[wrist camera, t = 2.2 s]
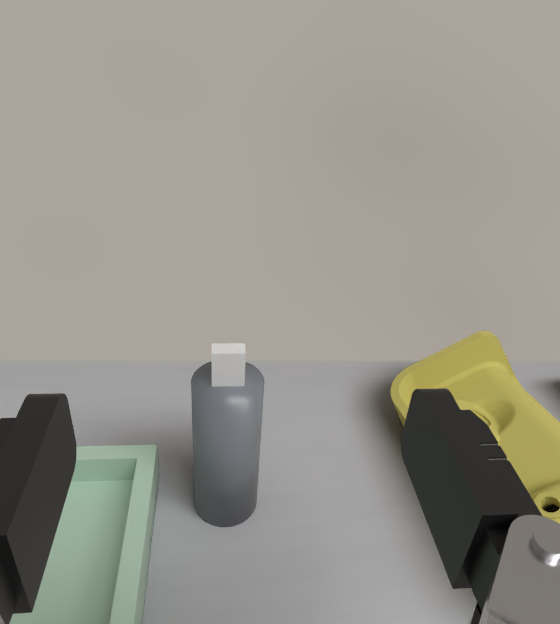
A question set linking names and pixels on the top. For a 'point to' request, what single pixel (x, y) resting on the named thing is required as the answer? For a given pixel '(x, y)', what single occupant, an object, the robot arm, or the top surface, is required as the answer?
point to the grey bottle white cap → (226, 435)
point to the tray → (101, 540)
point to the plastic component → (493, 409)
